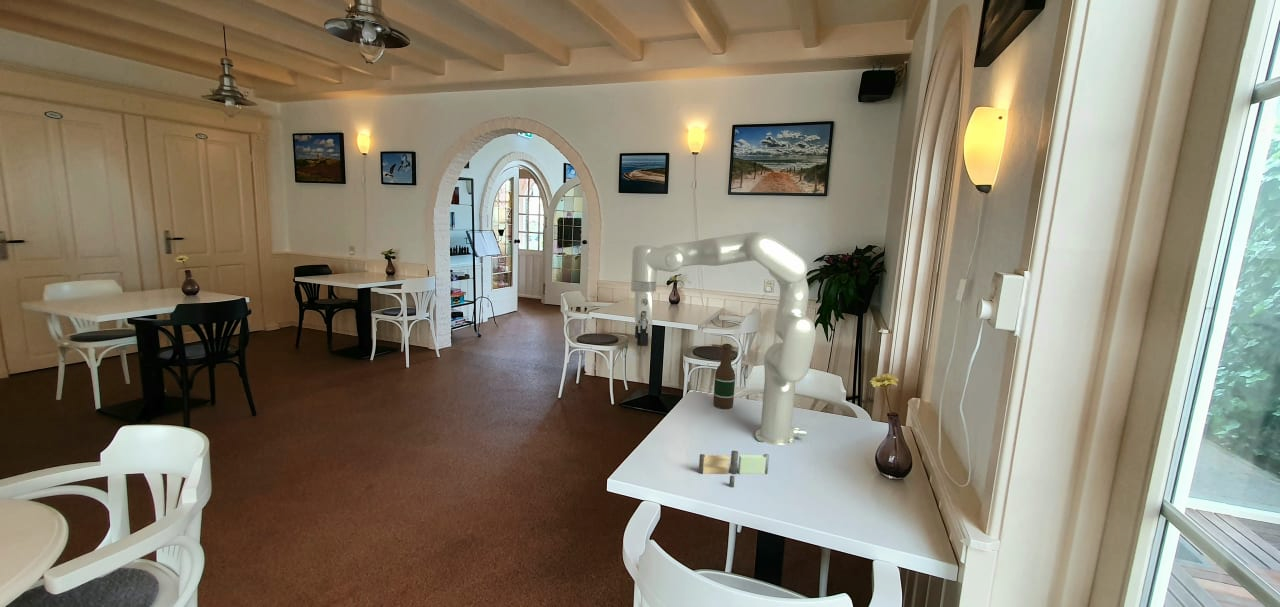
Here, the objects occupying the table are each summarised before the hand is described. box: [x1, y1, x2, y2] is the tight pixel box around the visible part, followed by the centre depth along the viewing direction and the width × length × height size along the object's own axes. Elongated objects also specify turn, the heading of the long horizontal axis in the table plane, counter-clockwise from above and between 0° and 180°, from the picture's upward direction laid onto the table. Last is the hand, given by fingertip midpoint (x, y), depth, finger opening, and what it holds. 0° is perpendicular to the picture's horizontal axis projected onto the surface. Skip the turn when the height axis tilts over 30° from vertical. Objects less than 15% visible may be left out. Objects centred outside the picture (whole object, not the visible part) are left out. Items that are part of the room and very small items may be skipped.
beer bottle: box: [712, 343, 736, 410], centre depth 192 cm, size 8×8×24 cm
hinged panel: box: [737, 453, 770, 475], centre depth 139 cm, size 8×2×5 cm, turn 94°
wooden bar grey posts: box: [698, 450, 739, 488], centre depth 135 cm, size 10×9×6 cm
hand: (641, 341), depth 156 cm, fingers open, 9 cm apart
